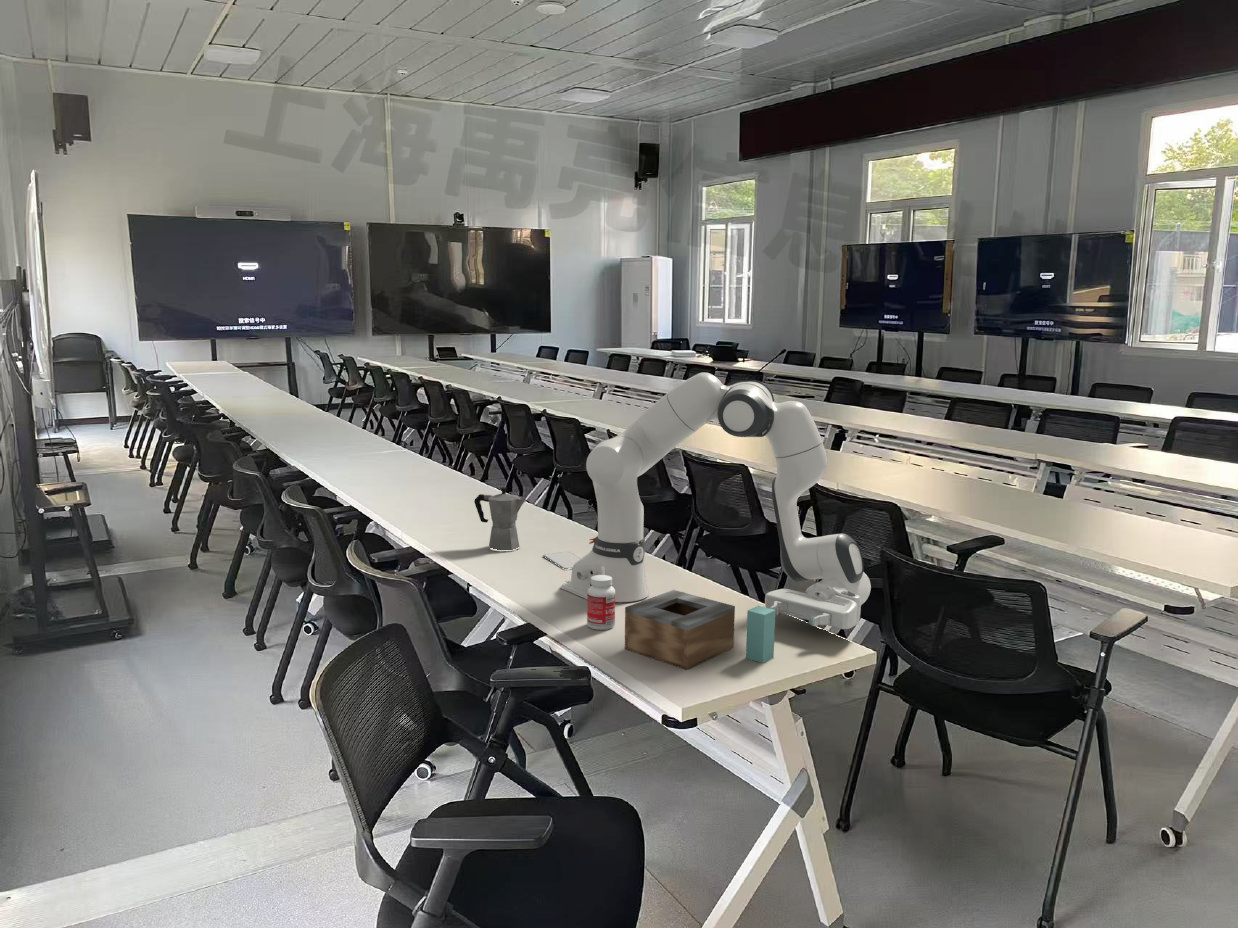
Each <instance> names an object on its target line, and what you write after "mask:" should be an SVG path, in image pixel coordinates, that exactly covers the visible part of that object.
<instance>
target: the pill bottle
mask: <svg viewBox="0 0 1238 928" xmlns="http://www.w3.org/2000/svg"><path fill="white" fill-rule="evenodd" d="M591 585H592V586H591V587H589V589H588V591H587V599H586V601H587V603H586V605H587V607H586V608H587V609H586V621H587V622H586V624H587V627H588V628H590V629H592V630H597V631H607V630H610V629H612V628H614V627H615V625H616V602H615V589H614V588H613V587H612V586H611V585H612V577H610V576H607V575H595V576H592V577H591Z"/></svg>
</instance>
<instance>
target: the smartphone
mask: <svg viewBox="0 0 1238 928" xmlns="http://www.w3.org/2000/svg"><path fill="white" fill-rule="evenodd" d="M542 556H544V557H546V558H547V559H549V560H551V561H552V562H553V563H556V564H557V565H559V566H560V567H561V569H562V568H564V569H568V568H573V566H574V564H575V563H576V562H577V561H578V560H580V559H581V558H582V557H581V558H580V557H579V556H577V555H576V554H574V553H572V552H571V551H562V552H553V553H546V554H545V553H544V554H543V555H542ZM544 557H543V558H544ZM547 559H546V560H547ZM549 560H548V561H549ZM552 562H551V563H552ZM553 563H552V564H553ZM557 565H556V566H557ZM560 567H559V568H560Z"/></svg>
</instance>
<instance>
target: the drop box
mask: <svg viewBox="0 0 1238 928" xmlns="http://www.w3.org/2000/svg"><path fill="white" fill-rule="evenodd" d="M624 614H625V615H624V650H625V651H626V650H627V651H630V652H632V653H635V654H639V655H642V656H644V657H647V658H651V659H653V660H656V661H658V662H662V663H665V664H668V665H672V666H675V667H676V668H677V667H678V668H681V669H683V670H687V671H688V670H689V669H692V668H694V667H696V666H697V665H700V664H702V663H704V662H706V661H709V660H711V659H713V658H715V657H717V656H720V655H721V654H723V653H725V652H727V651H730V650H731V649H734V648H735V646H734V645H735V621H736V620H735V619H736V616H735V615H736V605H733V604H729V603H724V602H721V601H717V600H713V599H709V598H706V597H702V596H698V595H693V594H691V593H688V592H687V593H686V592H684V591H679V590H675V589H672V590H669V591H666V592H664V593H661V594H658V595H656V596H652V597H650V598H648V599H644V600H642V601H637V603H636V602H635V603H633V604H630V605H627V606H625V609H624Z"/></svg>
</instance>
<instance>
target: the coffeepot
mask: <svg viewBox="0 0 1238 928" xmlns="http://www.w3.org/2000/svg"><path fill="white" fill-rule="evenodd" d="M500 490H501V493H498V494H494V495H492V494H482V493H481V494H478V495H477V497H476V498H475V499H474V504H475V508H476V512H477V514H478V517H479V520H480V522H482V523H488V522H489V519H487V518H485V517H484V516H485V513H484V511H483V509H482V508H483V507H482V503H481V502H487V503H488V505H489V511H490V517H491V521H492V526H491V530H490V537H489V545H488V547H489V546H490V548H493V549H497V550H513V549H516V548H518V547H520V543H519V537H518V535H519V534H518V529H517V525H516V524H517V523H516V522H517V520H518V513H519V511H520V509H521V507H522V506H523V504H524V503H525V502H527V500H526V498H524V497H520V496H519V495H515V494H512V493H511V494H510V493H506V492H507V487H505V486H504V487H500Z"/></svg>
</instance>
